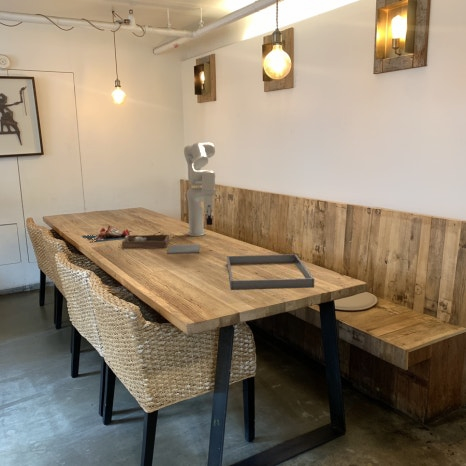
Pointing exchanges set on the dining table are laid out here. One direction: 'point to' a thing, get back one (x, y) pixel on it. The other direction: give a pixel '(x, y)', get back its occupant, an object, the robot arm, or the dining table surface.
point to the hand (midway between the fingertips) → (209, 223)
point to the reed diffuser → (144, 238)
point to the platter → (109, 235)
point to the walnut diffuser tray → (146, 242)
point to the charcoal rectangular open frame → (269, 283)
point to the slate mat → (183, 249)
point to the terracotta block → (206, 220)
